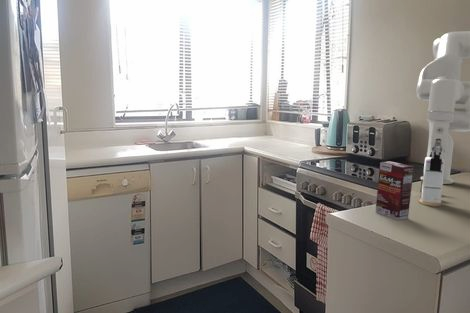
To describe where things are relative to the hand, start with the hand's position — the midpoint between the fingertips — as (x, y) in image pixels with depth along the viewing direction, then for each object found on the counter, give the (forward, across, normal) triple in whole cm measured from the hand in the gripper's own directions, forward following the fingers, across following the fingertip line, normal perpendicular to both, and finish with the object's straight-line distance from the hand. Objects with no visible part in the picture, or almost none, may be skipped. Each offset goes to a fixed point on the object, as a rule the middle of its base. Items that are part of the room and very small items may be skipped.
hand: (434, 168), depth 130 cm
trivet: (+12, 0, 0) cm, 12 cm away
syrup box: (+11, 0, 0) cm, 11 cm away
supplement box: (+12, -22, +11) cm, 27 cm away
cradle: (+12, +11, 0) cm, 17 cm away
